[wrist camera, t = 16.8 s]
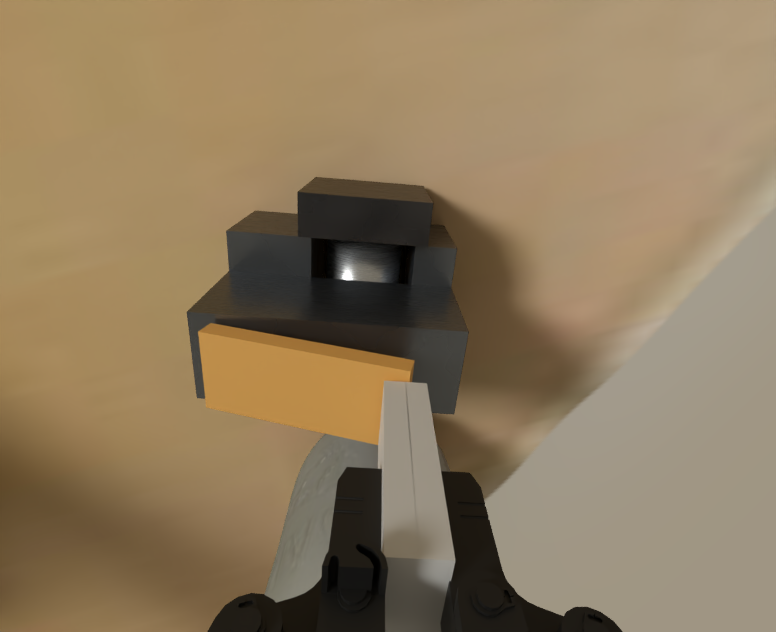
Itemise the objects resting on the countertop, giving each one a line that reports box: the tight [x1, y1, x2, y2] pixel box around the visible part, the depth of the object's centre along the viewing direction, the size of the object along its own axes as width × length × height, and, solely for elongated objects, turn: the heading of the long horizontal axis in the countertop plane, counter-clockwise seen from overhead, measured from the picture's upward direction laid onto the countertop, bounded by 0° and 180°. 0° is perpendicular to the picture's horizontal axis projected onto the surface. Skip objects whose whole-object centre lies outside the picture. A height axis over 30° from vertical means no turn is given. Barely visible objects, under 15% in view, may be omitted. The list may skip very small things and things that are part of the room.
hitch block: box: [187, 211, 469, 414], centre depth 22 cm, size 11×6×10 cm, turn 85°
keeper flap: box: [198, 323, 415, 445], centre depth 16 cm, size 8×3×1 cm, turn 85°
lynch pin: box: [298, 177, 433, 284], centre depth 24 cm, size 6×11×6 cm, turn 175°
